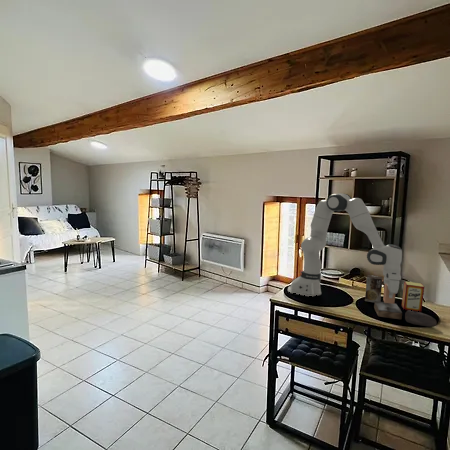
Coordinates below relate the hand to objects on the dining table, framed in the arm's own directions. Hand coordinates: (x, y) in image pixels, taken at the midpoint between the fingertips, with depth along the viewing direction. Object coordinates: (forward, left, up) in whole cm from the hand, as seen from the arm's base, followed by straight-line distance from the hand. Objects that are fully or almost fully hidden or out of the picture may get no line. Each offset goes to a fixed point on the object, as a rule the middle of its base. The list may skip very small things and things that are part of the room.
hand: (389, 295), depth 189 cm
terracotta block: (0, 0, -4) cm, 4 cm away
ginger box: (+16, +13, -11) cm, 23 cm away
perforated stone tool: (+14, -11, -11) cm, 21 cm away
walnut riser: (0, 0, -11) cm, 11 cm away
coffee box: (-5, +19, -11) cm, 22 cm away
